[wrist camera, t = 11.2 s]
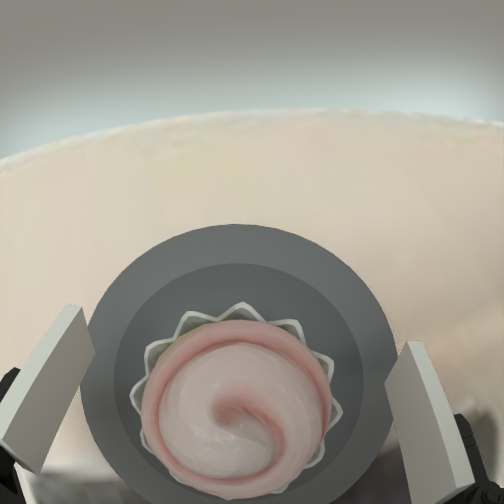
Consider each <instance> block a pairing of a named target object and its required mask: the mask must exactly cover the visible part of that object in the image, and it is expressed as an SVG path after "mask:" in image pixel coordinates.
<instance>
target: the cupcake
mask: <svg viewBox="0 0 504 504" xmlns="http://www.w3.org/2000/svg"><path fill="white" fill-rule="evenodd" d="M144 362H145V371H146V376H145V377H144V378H143V379H141V380H140V381H139V382H138V383H137V384H136V385H135V386H134V387H133V389H132V391H131V393H130V395H129V396H130V399H131V402H132V405H133V406H134V408H135V409H136V410H137V412H138V413H139V414H140V416H141V422H142V429H141V433H140V436H141V441H142V445H143V446H144V447H145V448H146V449H147V450H148V451H149V452H150V453H151V454H153V455H155V456H156V457H157V458H158V459H159V460H160V461H161V462H162V463H163V464H164V465H165V466H166V467H167V468H168V469H169V472H170V474H171V475H172V476H173V477H174V478H175V479H176V480H177V481H178V482H180V483H183V484H185V485H188V486H192V487H194V488H195V489H197V490H200V491H203V492H206V493H209V494H212V495H216V496H219V497H221V498H223V499H225V500H232V499H244V498H253V497H257V496H262V495H266V494H268V493H273V494H276V493H282V492H283V491H284V490H285V489H286V488H287V487H288V485H289V483H290V482H291V481H293V480H294V479H296V478H297V477H298V476H299V475H300V473H301V472H302V470H303V469H306V468H309V467H312V466H314V465H315V464H317V463H318V462H319V461H320V460H321V459H322V457H323V455H324V452H325V445H324V437H325V434H326V432H327V431H328V430H329V429H331V428H332V427H333V426H334V425H335V424H336V423H337V422H338V421H339V419H340V418H341V416H342V414H343V411H342V408H341V406H340V405H339V403H338V402H337V401H336V400H335V398H334V397H333V396H332V393H331V390H330V382H331V378H332V375H333V371H334V361H333V360H332V359H330V358H329V357H328V356H325V355H323V354H320V353H317V352H315V351H312V350H310V349H309V348H308V347H307V345H306V341H305V338H304V334H303V330H302V327H301V325H300V324H299V322H298V320H293V319H285V320H277V321H270V322H266V321H265V320H264V319H263V318H262V317H261V316H260V315H259V314H258V313H257V312H256V311H255V310H254V309H253V308H252V307H251V306H250V305H248V304H246V303H245V302H241V303H238V304H235V305H234V306H233V307H231V308H230V309H228V310H227V311H226V312H224V313H223V314H222V315H220V316H219V317H217V318H216V317H212V316H209V315H206V314H202V313H199V312H196V311H187V312H186V313H185V314H184V315H183V317H182V318H181V320H180V322H179V325H178V327H177V329H176V331H175V334H174V336H173V338H169V339H164V340H159V341H155V342H153V343H151V344H150V345H148V346H146V350H145V355H144Z"/></svg>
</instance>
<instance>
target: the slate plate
mask: <svg viewBox="0 0 504 504" xmlns="http://www.w3.org/2000/svg"><path fill="white" fill-rule="evenodd" d="M241 302H245V303H246V304H248V305H250V306H251V307H252V308H253V309H254V310H255V311H256V312H257V313H258V314H259V315H260V316H261V317H262V318H263V319H264V320H265V321H266V322H270V321H277V320H285V319H293V320H298V322H299V324H300V325H301V327H302V330H303V334H304V338H305V341H306V345H307V347H308V348H309V349H310V350H312V351H315V352H317V353H320V354H323V355H325V356H328V357H329V358H330V359H332V360H333V361H334V371H333V375H332V378H331V382H330V390H331V393H332V396H333V397H334V398H335V400H336V401H337V402H338V403H339V405H340V406H341V408H342V411H343V414H342V416H341V418H340V419H339V421H338V422H337V423H336V424H335V425H334V426H333V427H332V428H331V429H329V430H328V431H327V432H326V434H325V437H324V445H325V452H324V455H323V457H322V459H321V460H320V461H319V462H318V463H317V464H315V465H314V466H312V467H309V468H306V469H303V470H302V472H301V473H300V475H299V476H298V477H297V478H296V479H294V480H293V481H291V482H290V483H289V485H288V487H287V488H286V489H285V490H284V491H283V492H282V493H276V494H273V493H268V494H266V495H262V496H257V497H253V498H244V499H232V500H225V499H223V498H221V497H219V496H216V495H212V494H209V493H206V492H203V491H200V490H197V489H195V488H194V487H192V486H188V485H185V484H183V483H180V482H178V481H177V480H176V479H175V478H174V477H173V476H172V475H171V474H170V472H169V469H168V468H167V467H166V466H165V465H164V464H163V463H162V462H161V461H160V460H159V459H158V458H157V457H156V456H155V455H153V454H151V453H150V452H149V451H148V450H147V449H146V448H145V447H144V446H143V445H142V441H141V436H140V433H141V429H142V422H141V416H140V414H139V413H138V412H137V410H136V409H135V408H134V406H133V405H132V402H131V399H130V396H129V395H130V393H131V391H132V389H133V387H134V386H135V385H136V384H137V383H138V382H139V381H140V380H141V379H143V378H144V377H145V376H146V371H145V362H144V355H145V350H146V346H148V345H150V344H151V343H153V342H155V341H159V340H164V339H169V338H173V336H174V334H175V331H176V329H177V327H178V325H179V322H180V320H181V318H182V317H183V315H184V314H185V313H186V312H187V311H196V312H199V313H202V314H206V315H209V316H212V317H216V318H217V317H219V316H220V315H222V314H223V313H224V312H226V311H227V310H228V309H230V308H231V307H233V306H234V305H235V304H238V303H241ZM88 331H89V334H90V337H91V340H92V344H93V347H94V350H95V353H96V354H95V356H94V358H93V360H92V361H91V363H90V365H89V367H88V369H87V371H86V373H85V375H84V377H83V379H82V381H81V383H80V390H81V399H82V404H83V408H84V412H85V416H86V420H87V423H88V425H89V428H90V430H91V433H92V435H93V438H94V440H95V442H96V444H97V445H98V447H99V449H100V451H101V452H102V454H103V456H104V457H105V459H106V460H107V462H108V463H109V464H110V466H111V467H112V468H113V469H114V471H115V472H116V473H117V474H118V475H119V476H120V477H121V479H122V480H123V481H124V482H125V483H126V484H127V485H128V486H129V487H130V488H132V489H133V490H134V491H135V492H137V493H138V494H139V495H140V496H142V497H143V498H144V499H145V500H147V501H148V502H150V503H152V504H329V503H331V502H332V501H334V500H335V499H337V498H338V497H340V496H341V495H342V494H343V493H344V492H346V491H347V490H348V489H349V488H350V487H351V486H352V485H354V484H355V483H356V482H357V480H358V479H359V478H360V477H361V476H362V475H363V474H364V473H365V471H366V470H367V469H368V468H369V466H370V465H371V463H372V462H373V461H374V459H375V458H376V456H377V454H378V453H379V451H380V449H381V447H382V445H383V443H384V441H385V439H386V437H387V435H388V433H389V430H390V427H391V424H392V421H393V416H392V412H391V408H390V404H389V400H388V397H387V393H386V389H385V386H384V383H385V381H386V379H387V378H388V376H389V374H390V372H391V370H392V369H393V367H394V365H395V363H396V361H397V359H398V356H397V351H396V346H395V342H394V338H393V334H392V332H391V329H390V326H389V324H388V321H387V318H386V316H385V314H384V312H383V311H382V309H381V307H380V305H379V303H378V301H377V300H376V298H375V297H374V295H373V294H372V292H371V291H370V290H369V288H368V287H367V286H366V284H365V283H364V282H363V281H362V280H361V279H360V277H359V276H358V275H357V274H356V273H355V272H354V271H353V270H352V269H351V268H350V267H349V266H348V265H346V264H345V263H344V262H343V261H341V260H340V259H339V258H338V257H336V256H335V255H334V254H332V253H331V252H329V251H327V250H326V249H324V248H323V247H321V246H319V245H318V244H316V243H314V242H312V241H309V240H307V239H305V238H303V237H300V236H298V235H296V234H293V233H289V232H286V231H283V230H279V229H276V228H270V227H264V226H258V225H243V224H230V225H218V226H210V227H206V228H201V229H196V230H192V231H189V232H186V233H183V234H181V235H178V236H175V237H172V238H170V239H168V240H166V241H164V242H162V243H160V244H158V245H157V246H155V247H153V248H151V249H150V250H149V251H147V252H146V253H144V254H143V255H141V256H140V257H138V258H137V259H136V260H135V261H133V262H132V263H131V264H130V265H129V266H128V267H127V268H126V269H125V270H124V271H122V272H121V274H120V275H119V276H118V277H117V278H116V279H115V281H114V282H113V283H112V284H111V285H110V286H109V288H108V289H107V291H106V292H105V294H104V295H103V297H102V298H101V300H100V302H99V303H98V305H97V307H96V309H95V311H94V313H93V316H92V318H91V320H90V322H89V325H88Z"/></svg>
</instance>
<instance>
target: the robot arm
mask: <svg viewBox="0 0 504 504" xmlns="http://www.w3.org/2000/svg"><path fill="white" fill-rule="evenodd" d="M95 354H96V353H95V350H94V347H93V344H92V340H91V337H90V334H89V331H88V327H87V324H86V320H85V317H84V313H83V309H82V307H80V306H76V305H71V304H66V306H65V307H64V308H63V310H62V311H61V312H60V314H59V315H58V316H57V318H56V319H55V321H54V322H53V323H52V325H51V326H50V328H49V329H48V330H47V332H46V333H45V335H44V336H43V337H42V339H41V340H40V342H39V343H38V345H37V346H36V348H35V349H34V351H33V352H32V354H31V355H30V357H29V358H28V360H27V361H26V363H25V364H24V366H23V367H22V369H21V370H20V369H18V368H15V367H14V368H13V369H12V370H10V371H9V372H8V373H7V374H5V375H4V377H3V379H2V380H1V382H0V504H26V501H25V498H24V495H23V492H22V489H21V486H20V482H19V479H18V476H17V472H16V470H15V467H14V463H15V461H16V462H17V463H18V464H19V465H20V466H21V467H22V468H24V469H26V470H28V471H30V472H32V473H34V474H36V475H38V476H39V473H40V471H41V468H42V466H43V463H44V461H45V459H46V456H47V454H48V452H49V449H50V447H51V445H52V442H53V440H54V438H55V436H56V433H57V431H58V429H59V427H60V425H61V422H62V420H63V418H64V416H65V414H66V412H67V410H68V407H69V405H70V403H71V401H72V399H73V397H74V395H75V393H76V391H77V389H78V387H79V385H80V383H81V381H82V379H83V377H84V375H85V373H86V371H87V369H88V367H89V365H90V363H91V361H92V360H93V358H94V356H95ZM384 386H385V389H386V393H387V397H388V400H389V404H390V408H391V412H392V416H393V420H394V424H395V428H396V432H397V436H398V440H399V444H400V449H401V453H402V458H403V462H404V467H405V471H406V476H407V481H408V486H409V492H410V497H411V502H412V504H504V488H500V486H499V485H498V484H496V483H495V482H491V481H489V479H488V477H487V474H486V471H485V468H484V465H483V462H482V459H481V456H480V453H479V450H478V447H477V446H476V441H475V438H474V437H473V433H472V430H471V428H470V425H469V423H468V422H467V420H466V419H465V418H464V417H463V415H462V414H456V415H453V413H452V411H451V408H450V405H449V403H448V400H447V398H446V395H445V393H444V390H443V388H442V385H441V383H440V380H439V378H438V375H437V373H436V371H435V368H434V366H433V364H432V361H431V359H430V357H429V354H428V352H427V350H426V348H425V346H424V343H423V341H407V342H406V344H405V346H404V348H403V350H402V352H401V354H400V356H399V357H398V359H397V361H396V363H395V365H394V367H393V369H392V370H391V372H390V374H389V376H388V378H387V379H386V381H385V383H384Z"/></svg>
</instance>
